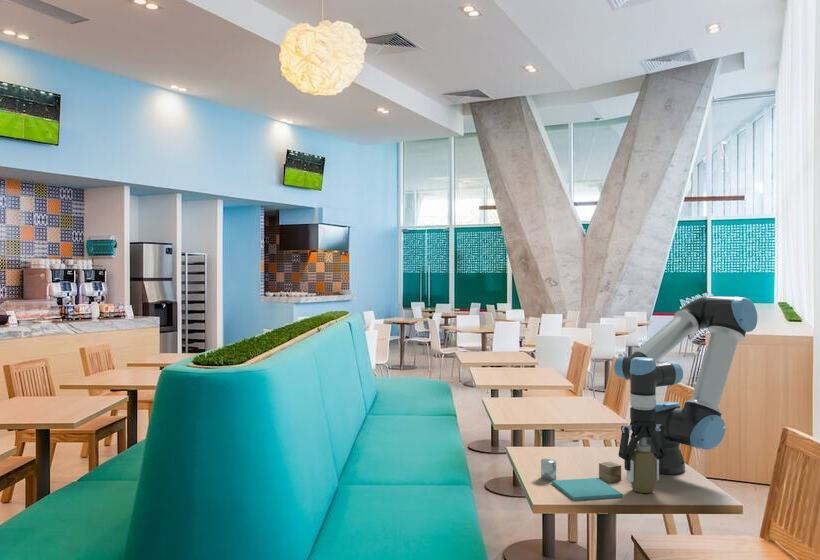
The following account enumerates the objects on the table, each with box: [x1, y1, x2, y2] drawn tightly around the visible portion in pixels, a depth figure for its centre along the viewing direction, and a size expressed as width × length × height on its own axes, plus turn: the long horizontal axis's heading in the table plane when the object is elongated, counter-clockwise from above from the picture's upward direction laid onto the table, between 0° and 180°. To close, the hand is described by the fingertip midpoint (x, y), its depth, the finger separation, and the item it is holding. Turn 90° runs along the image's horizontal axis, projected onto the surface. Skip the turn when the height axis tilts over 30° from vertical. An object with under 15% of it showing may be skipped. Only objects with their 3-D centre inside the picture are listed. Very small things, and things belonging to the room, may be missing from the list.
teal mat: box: [551, 477, 623, 501], centre depth 201 cm, size 16×16×1 cm
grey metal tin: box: [540, 458, 557, 482], centre depth 213 cm, size 5×5×6 cm
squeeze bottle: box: [630, 437, 658, 494], centre depth 201 cm, size 8×8×18 cm
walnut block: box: [598, 460, 622, 483], centre depth 212 cm, size 5×5×5 cm
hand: (642, 479), depth 201 cm, fingers closed on squeeze bottle, 8 cm apart
